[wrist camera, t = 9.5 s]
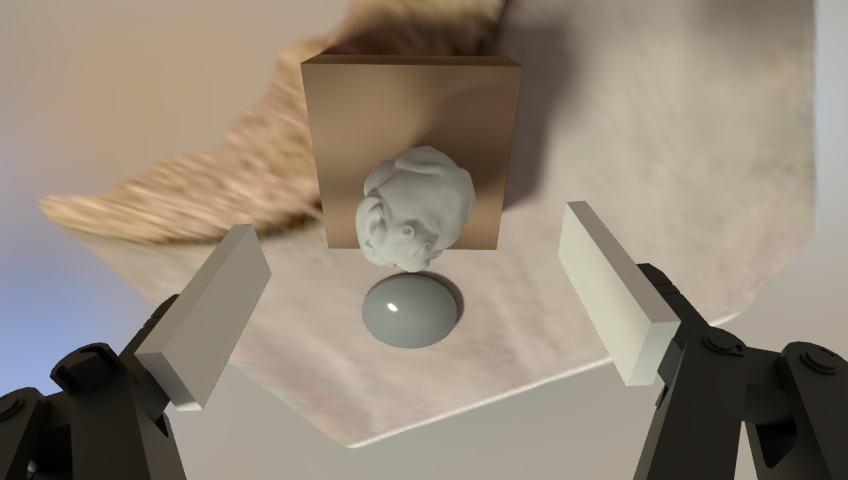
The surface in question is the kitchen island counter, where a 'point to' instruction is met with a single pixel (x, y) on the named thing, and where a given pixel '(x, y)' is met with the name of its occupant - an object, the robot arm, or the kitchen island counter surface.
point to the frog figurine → (413, 208)
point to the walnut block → (410, 128)
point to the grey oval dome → (409, 311)
